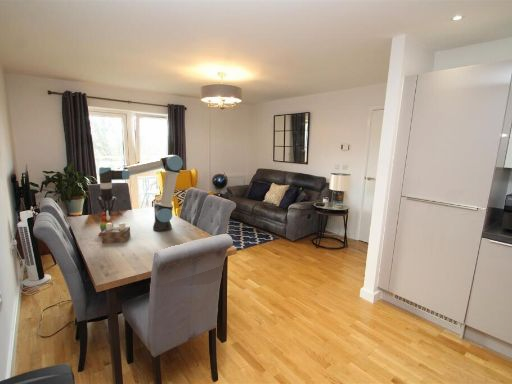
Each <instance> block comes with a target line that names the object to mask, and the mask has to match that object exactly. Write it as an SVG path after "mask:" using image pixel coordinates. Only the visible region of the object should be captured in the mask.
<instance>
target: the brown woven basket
mask: <svg viewBox="0 0 512 384" xmlns="http://www.w3.org/2000/svg"><path fill="white" fill-rule="evenodd" d="M100 232H101V231H100ZM101 235H102V236H101V244H110V243H111V244H114V243H116V244H117V243H126V242H127V241H128V240H129V239H130V238H131V226H125V230H120V229H119V226H117V227H116V226H115V227H114V226H113V230H112V231H107V229H105V230H104V231H103V232H101Z"/></svg>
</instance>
